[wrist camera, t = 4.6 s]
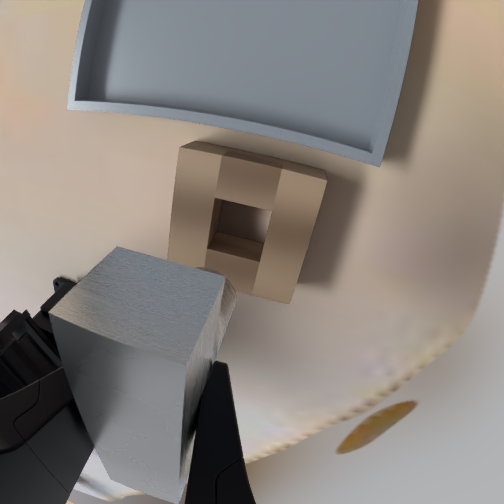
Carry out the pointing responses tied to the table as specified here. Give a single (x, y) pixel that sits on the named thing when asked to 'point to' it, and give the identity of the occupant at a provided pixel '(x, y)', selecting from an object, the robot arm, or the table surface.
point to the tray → (250, 66)
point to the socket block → (252, 194)
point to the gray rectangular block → (142, 362)
